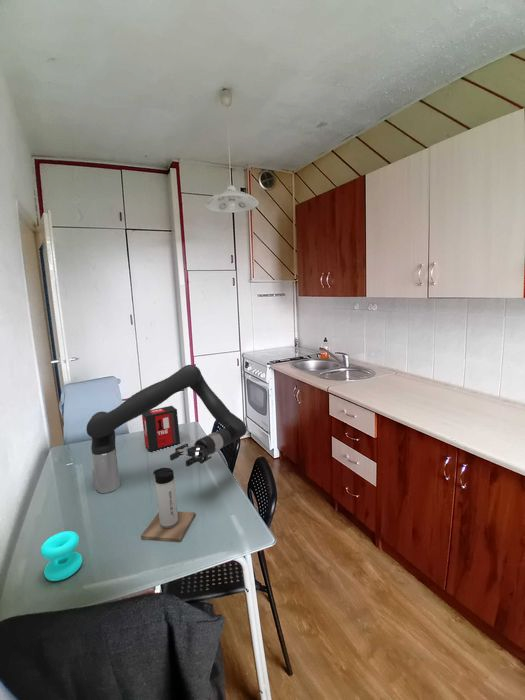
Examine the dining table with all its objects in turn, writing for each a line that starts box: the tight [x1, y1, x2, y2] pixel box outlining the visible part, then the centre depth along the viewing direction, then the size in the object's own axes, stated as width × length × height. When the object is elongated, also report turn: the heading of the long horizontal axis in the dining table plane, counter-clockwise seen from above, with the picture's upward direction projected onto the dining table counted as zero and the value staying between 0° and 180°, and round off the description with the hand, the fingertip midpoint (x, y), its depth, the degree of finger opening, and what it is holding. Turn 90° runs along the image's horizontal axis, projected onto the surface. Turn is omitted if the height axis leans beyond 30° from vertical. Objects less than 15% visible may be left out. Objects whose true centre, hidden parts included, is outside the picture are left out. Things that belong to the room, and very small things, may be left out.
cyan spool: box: [40, 530, 83, 582], centre depth 105 cm, size 10×10×10 cm
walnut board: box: [140, 510, 197, 543], centre depth 123 cm, size 14×14×1 cm
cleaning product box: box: [141, 405, 181, 453], centre depth 189 cm, size 16×9×20 cm, turn 122°
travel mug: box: [153, 467, 179, 529], centre depth 121 cm, size 6×7×20 cm
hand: (178, 460), depth 127 cm, fingers open, 8 cm apart
